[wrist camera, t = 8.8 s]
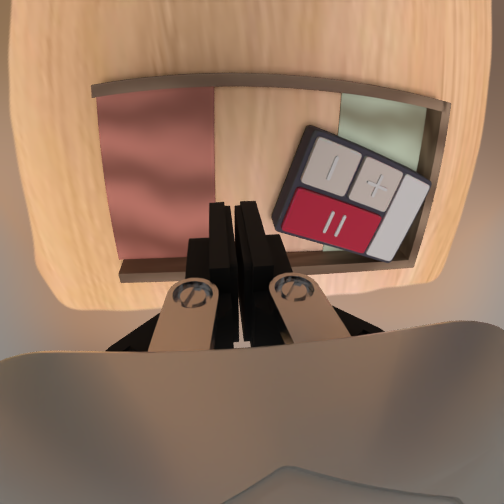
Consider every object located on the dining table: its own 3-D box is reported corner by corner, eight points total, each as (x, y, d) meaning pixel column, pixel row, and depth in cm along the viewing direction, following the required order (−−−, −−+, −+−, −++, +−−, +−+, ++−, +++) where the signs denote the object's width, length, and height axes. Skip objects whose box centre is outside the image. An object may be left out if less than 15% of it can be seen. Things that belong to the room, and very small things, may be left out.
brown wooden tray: (96, 84, 25) (85, 86, 22) (435, 98, 29) (451, 103, 27) (121, 267, 36) (115, 282, 34) (402, 255, 40) (413, 267, 38)
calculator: (316, 129, 27) (437, 185, 30) (305, 122, 30) (418, 172, 34) (274, 234, 32) (393, 268, 35) (269, 216, 36) (379, 249, 39)
